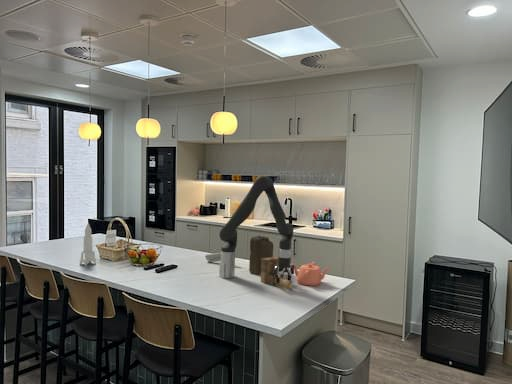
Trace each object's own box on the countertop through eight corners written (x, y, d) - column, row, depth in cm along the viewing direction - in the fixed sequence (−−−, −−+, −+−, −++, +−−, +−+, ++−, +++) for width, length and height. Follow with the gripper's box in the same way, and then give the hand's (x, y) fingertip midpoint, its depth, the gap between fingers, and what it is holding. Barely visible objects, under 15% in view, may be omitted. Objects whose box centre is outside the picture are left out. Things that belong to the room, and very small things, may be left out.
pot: (314, 278, 251) (315, 259, 250) (329, 285, 235) (329, 266, 234) (290, 280, 244) (290, 261, 243) (303, 288, 228) (304, 268, 227)
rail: (287, 290, 222) (287, 282, 222) (270, 283, 236) (270, 275, 236) (291, 289, 224) (292, 281, 224) (275, 282, 238) (275, 274, 238)
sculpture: (96, 263, 269) (96, 222, 267) (85, 266, 262) (85, 223, 260) (90, 262, 272) (90, 221, 271) (79, 264, 265) (79, 222, 264)
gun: (235, 265, 274) (233, 251, 274) (206, 268, 284) (204, 255, 284) (237, 264, 276) (235, 250, 277) (208, 267, 286) (206, 254, 287)
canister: (257, 275, 253) (258, 238, 251) (247, 273, 258) (248, 237, 256) (273, 270, 267) (274, 235, 266) (264, 268, 273) (265, 234, 271)
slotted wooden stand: (269, 286, 230) (270, 262, 229) (259, 281, 238) (260, 258, 237) (285, 283, 237) (286, 259, 236) (275, 279, 246) (276, 256, 245)
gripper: (279, 258, 220) (277, 285, 221) (297, 256, 228) (296, 282, 229) (271, 255, 226) (270, 282, 227) (289, 253, 234) (288, 279, 235)
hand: (283, 282), depth 228 cm, fingers open, 8 cm apart
